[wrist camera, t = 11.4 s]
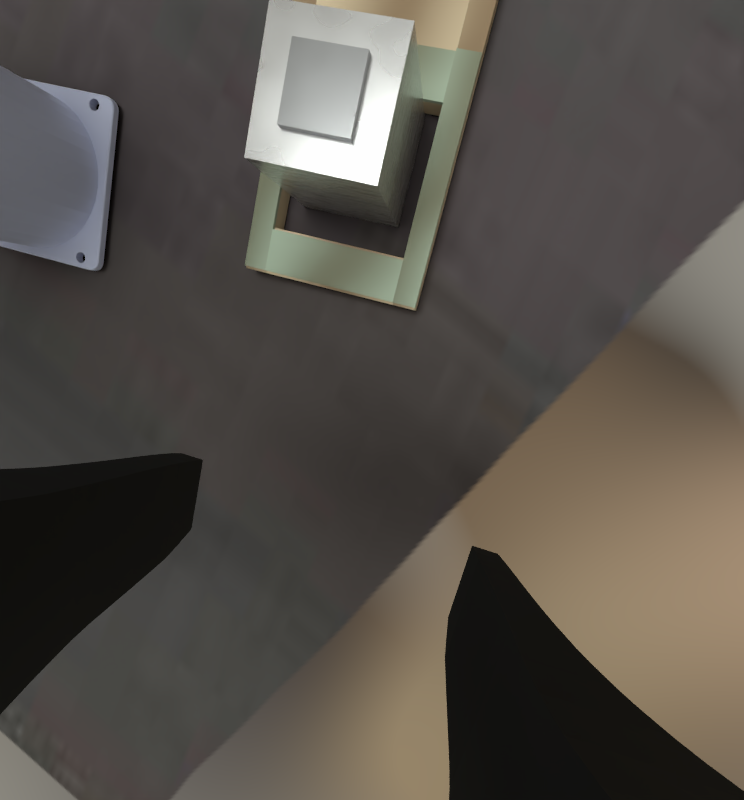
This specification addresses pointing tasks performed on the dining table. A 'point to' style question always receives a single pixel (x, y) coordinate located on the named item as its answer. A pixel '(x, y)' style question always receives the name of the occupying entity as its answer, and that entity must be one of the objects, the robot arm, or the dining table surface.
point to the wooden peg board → (450, 100)
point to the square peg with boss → (338, 109)
